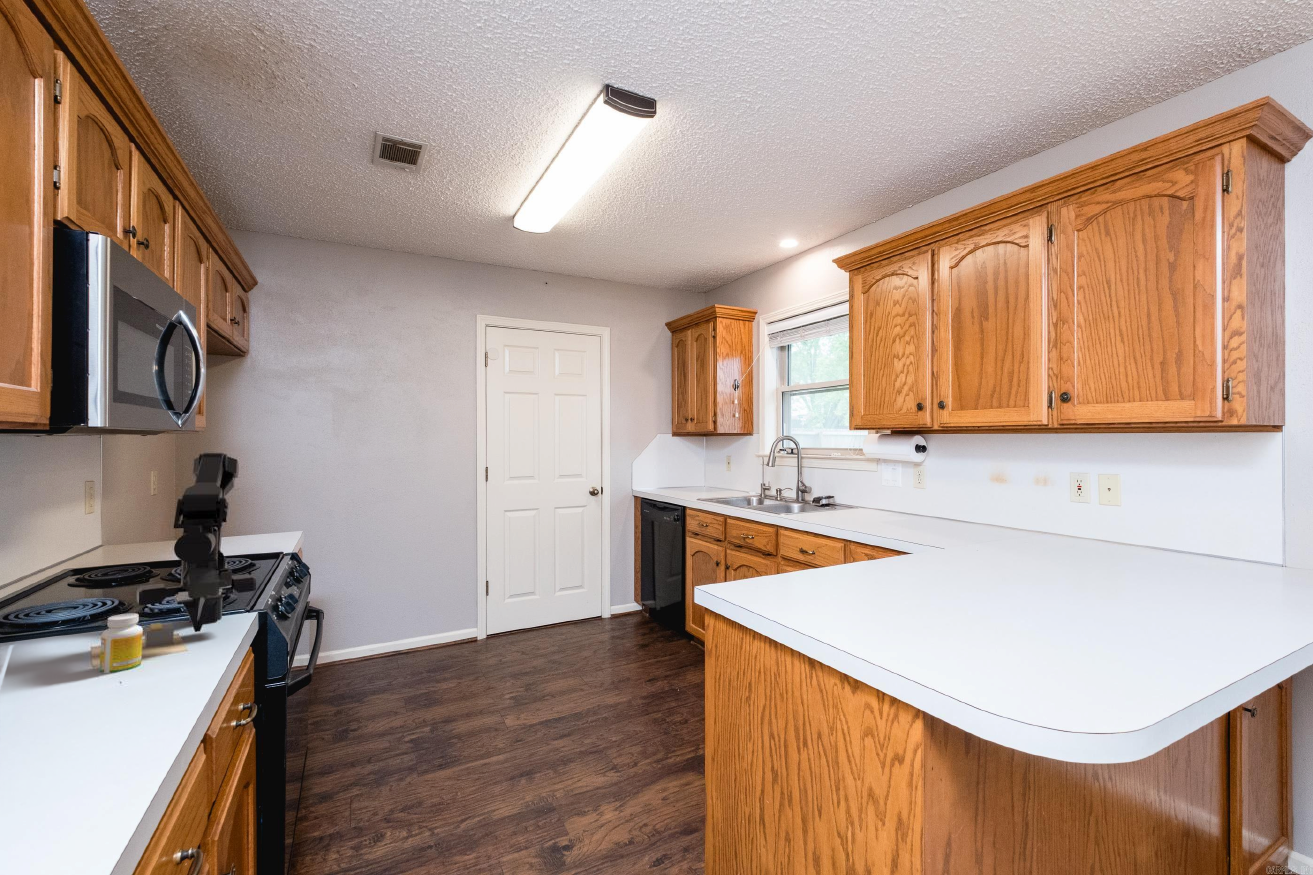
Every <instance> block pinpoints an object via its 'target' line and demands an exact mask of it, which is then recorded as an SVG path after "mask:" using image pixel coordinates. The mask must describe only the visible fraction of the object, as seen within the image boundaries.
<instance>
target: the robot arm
mask: <svg viewBox="0 0 1313 875" xmlns="http://www.w3.org/2000/svg"><path fill="white" fill-rule="evenodd" d="M239 464H240V463H239V461H238V459H237V458H233V457H230V456H228V454H227V453H224V452H203V453H199V455H198V457H196V458H194V459H193V466H192V475H193V478H194V479H195V481H194V484H193V485H191V486H189V487H186V488H185V489H184V491H183V493H182V496H181V498H178V499H177V503H176V510H175V516H174V522H173V529H174V530H176V529H183V530H182V532H183V533H182V535H181V536H180V537H179V538H178V539H176V542H175V543H174V546H173V551H174V555H175V557H177V558H178V560H181V573H180V575H181V576H180V585H179V586H169V587H166V586H165V584H164V583H155V584H147V585H146V584H145V585H140V586H139V587H138V588H137V589H136V602H137V604H138V605H137V606H147V605H154V604H155V605H156V604H161V603H163V601H164V600H166V599H167V598H171V597H173V600H174V602H175V604H176V605H178V606H179V605H183V607H184V609H185V610H186V613H187V615H188V617H189V620H188V621H189V622H188V623H190V624H191V626H192V628H193V631H194V633H197V632H201V630H202V628H203V625H208V624H215V623H217V622H218V621H220V620H222V618H223V617H222V616H223V615H222V614H223V596H229V595H231V594H234V591H235V592H236V593H238V594H241V593H243V594H244V593H248V592H249V593H250V592H255V591H256V590H257V580H256V578H254V577H253V576H252V575H251V574H250V573H245V574H235V575H234V573H232V572H233V571H232V569H231V568H230V567H228V562H227V558H226V556H225V555H224V553H223V552H222V551H221V545H222V537H223V535H222V534H223V526H224V523H227V521H228V514H229V502H228V501H227V498H226V496H227V495H228V494H229V493H230V492H231V491H232V490H233V489H234V487H235V480H236V479H238V478H239V474H240V473H239V472H240V471H239V470H240V466H239Z"/></svg>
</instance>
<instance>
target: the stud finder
mask: <svg viewBox="0 0 1313 875" xmlns="http://www.w3.org/2000/svg"><path fill="white" fill-rule="evenodd" d="M174 634H175V627H174V625H173V623H171V622H170V623H164V624H162V622H157V623H156V622H154V623H150V625H149V626H145V627H144V639H145V645H146V647H152V646H158V645H164V644H170V643H173V636H174Z"/></svg>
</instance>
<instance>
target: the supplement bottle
mask: <svg viewBox="0 0 1313 875" xmlns="http://www.w3.org/2000/svg"><path fill="white" fill-rule="evenodd" d="M139 621H140V620H139V614H138V613H135V612H131V613H127V612H126V613H121V614H115V615H112V616H109V617H108V618H107V624H106V625H107V627H108V628H106V629H105V630H104V631H103V632H102V634H101V635H100V636H101V639H100V646H101V652H100V666H99V672H100V673H103V674H104V673H105V674H110V673H111V674H112V673H113V674H115V673H120V672H125V671H129V670H133V669H135V668H138V667H140V666H141V665H142V659H141V656H142V639H143V632H144V629H143V627H142V626H140V625H138V622H139Z"/></svg>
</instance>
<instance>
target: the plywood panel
mask: <svg viewBox="0 0 1313 875" xmlns="http://www.w3.org/2000/svg"><path fill="white" fill-rule="evenodd" d="M90 651H91V661H92V668H96V667H100V652H101V645H95V646H91V647H90ZM187 651H188V648H187V645H186V644H185V643H184V641H183V639H182V636H181V635H180V633H174V636H173V643H170V644H164V645H158V646H152V647H146V645H145V638H142V656H141V660H142V659H143V660H144V659H147V658H153V657H159V656H165V655H171V654H176V653H181V652H187Z"/></svg>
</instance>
